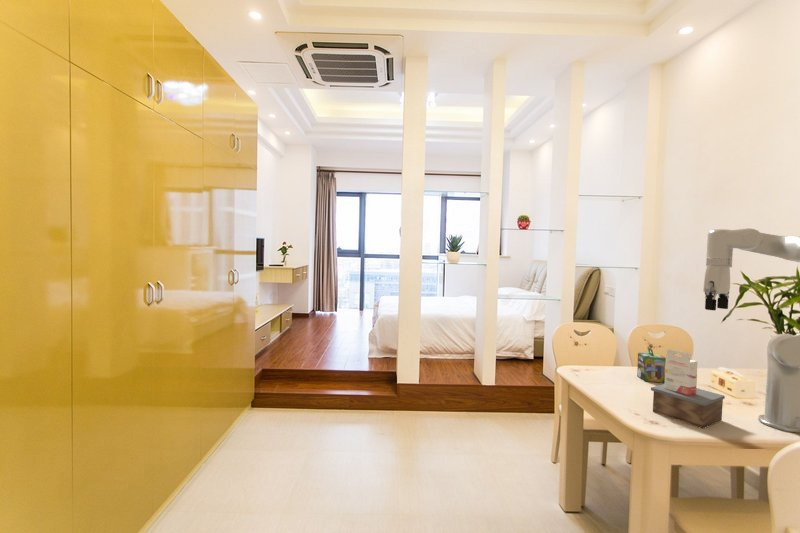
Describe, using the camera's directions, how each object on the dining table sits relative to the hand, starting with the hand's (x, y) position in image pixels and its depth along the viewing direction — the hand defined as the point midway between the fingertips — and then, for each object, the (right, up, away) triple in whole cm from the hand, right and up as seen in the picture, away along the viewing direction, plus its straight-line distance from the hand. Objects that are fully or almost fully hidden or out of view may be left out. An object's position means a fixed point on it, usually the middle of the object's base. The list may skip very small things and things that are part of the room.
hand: (716, 309), depth 150 cm
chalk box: (0, -37, +39) cm, 54 cm away
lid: (-14, -30, -5) cm, 34 cm away
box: (-14, -38, -4) cm, 41 cm away
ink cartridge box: (-17, -29, -4) cm, 34 cm away
